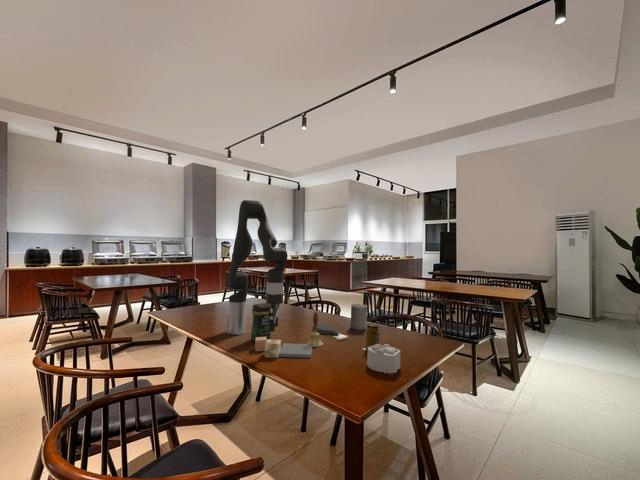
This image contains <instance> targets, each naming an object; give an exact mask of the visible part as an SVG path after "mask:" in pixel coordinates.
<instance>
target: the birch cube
mask: <svg viewBox="0 0 640 480" xmlns="http://www.w3.org/2000/svg"><path fill="white" fill-rule="evenodd" d="M281 348H282V340H281V339H271V338H270V339H268V340H267V342H266V343H265V351H264V358H273V359H274V358H277V359H279V358H280V357H279V352H280V350H281Z"/></svg>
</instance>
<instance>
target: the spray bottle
mask: <svg viewBox="0 0 640 480" xmlns="http://www.w3.org/2000/svg"><path fill="white" fill-rule="evenodd" d="M312 330H313V331H314V325H313V326H312ZM317 332H318V333H319V334H320V335H326V336H327V335H330V336H331V335H332V337H333V338H335V339H336V340H337V341H340V340H346V339H348V335H344V334H342V332H341V331H339V330H338V329H337V328H336V327H335V326H332V325H330V324H327V323H319V324H318V323H317Z"/></svg>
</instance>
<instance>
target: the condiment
mask: <svg viewBox="0 0 640 480" xmlns="http://www.w3.org/2000/svg"><path fill="white" fill-rule="evenodd" d="M366 329H367V330H365V331H366V333H365V334H366V335H365V337H366V338H365V347H362V348H361V349H362V350H363V351H365V352H367V353H368V347H370V346H374V345H376V344H379V343H380V330H379V325H378V324H376V323H368V324H367V325H366Z"/></svg>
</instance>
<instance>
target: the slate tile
mask: <svg viewBox="0 0 640 480" xmlns="http://www.w3.org/2000/svg"><path fill="white" fill-rule="evenodd" d="M312 345H313V344H307V343H285V342H283V344H282V345H281V350H280V352H279V358H295V359H297V358H300V359H301V358H303V359H311V358H312V353H313V347H312Z"/></svg>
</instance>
